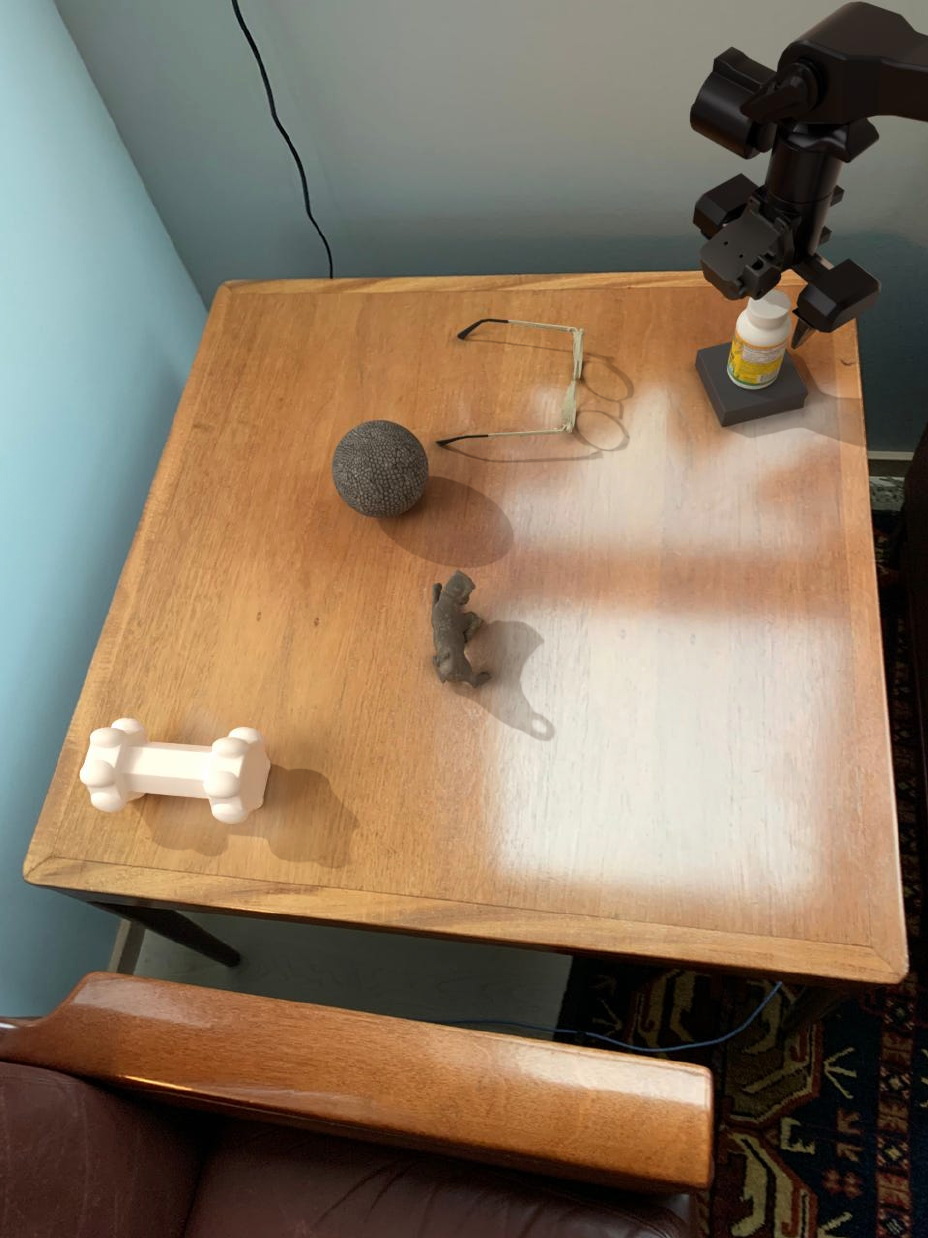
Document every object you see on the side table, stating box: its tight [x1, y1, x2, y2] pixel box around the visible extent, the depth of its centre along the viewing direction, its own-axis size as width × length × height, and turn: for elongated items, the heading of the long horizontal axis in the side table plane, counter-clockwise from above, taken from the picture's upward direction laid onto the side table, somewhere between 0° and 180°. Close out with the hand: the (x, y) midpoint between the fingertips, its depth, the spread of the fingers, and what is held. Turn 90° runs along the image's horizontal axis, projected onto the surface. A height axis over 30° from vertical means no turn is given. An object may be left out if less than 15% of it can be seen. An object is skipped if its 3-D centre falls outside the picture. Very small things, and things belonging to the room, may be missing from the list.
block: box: [694, 340, 809, 428], centre depth 94 cm, size 9×9×2 cm
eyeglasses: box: [435, 318, 586, 446], centre depth 96 cm, size 17×15×5 cm
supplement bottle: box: [727, 288, 793, 389], centre depth 88 cm, size 5×5×10 cm
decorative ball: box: [331, 419, 430, 519], centre depth 90 cm, size 10×10×10 cm
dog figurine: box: [430, 569, 492, 689], centre depth 82 cm, size 12×6×7 cm, turn 1°
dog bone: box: [79, 717, 271, 825], centre depth 79 cm, size 15×9×8 cm, turn 83°
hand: (764, 318), depth 86 cm, fingers open, 9 cm apart
